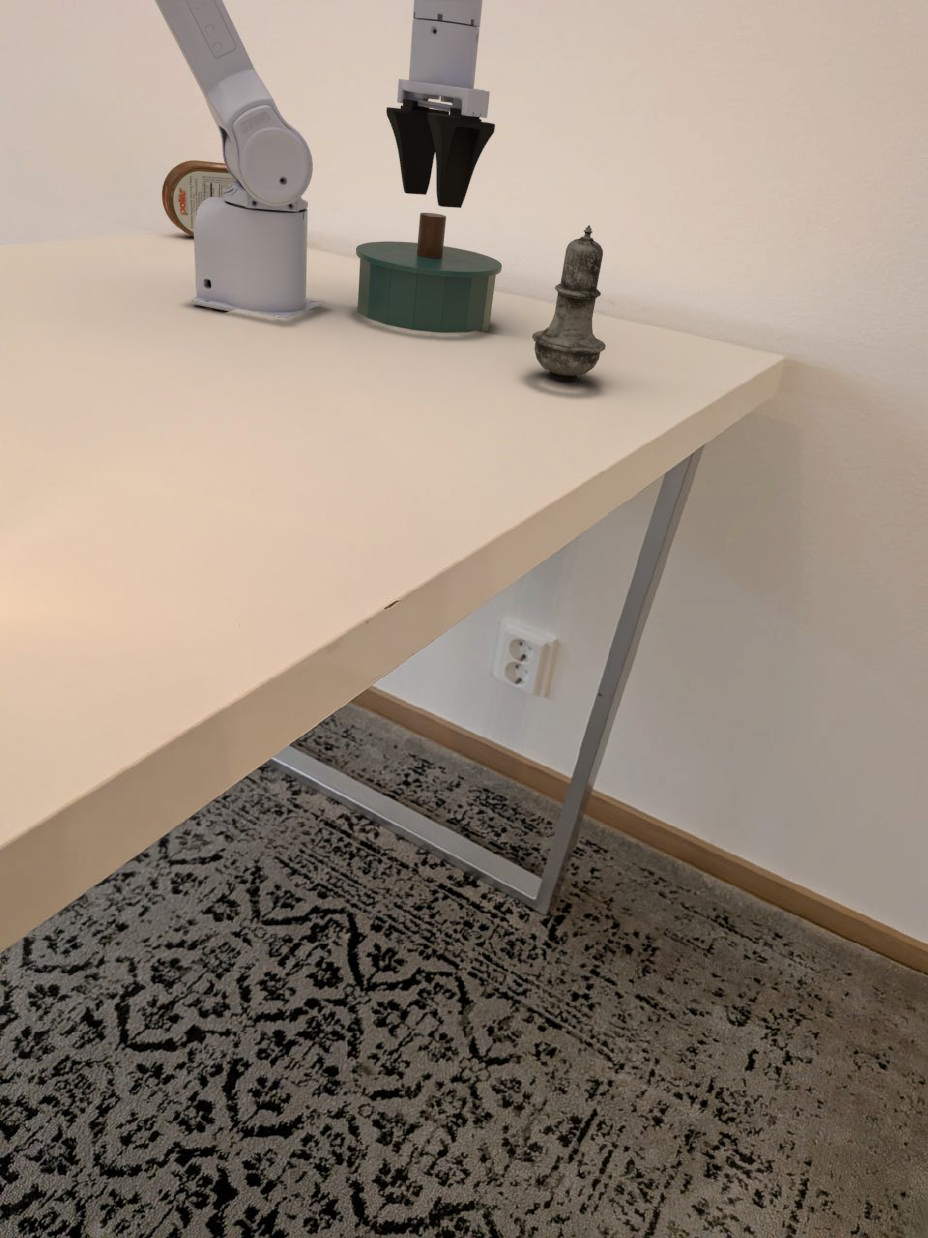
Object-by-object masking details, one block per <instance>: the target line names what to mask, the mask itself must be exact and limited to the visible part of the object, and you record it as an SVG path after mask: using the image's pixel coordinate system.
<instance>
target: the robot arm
mask: <svg viewBox="0 0 928 1238" xmlns="http://www.w3.org/2000/svg"><path fill="white" fill-rule="evenodd" d="M154 2H155V3H156V5H157V8H158V9H159V11H160V13H161V16H162V18H163V19H164V21H165V24H166V25H167V27H168V29H169V30H170V33H171V34H172V36H173V39H174V40H175V43H176V44H177V47H178V49H179V50H180V53H181V54H182V56H183V58H184V60H185V62H186V64H187V65H188V67H189V69H190V71H191V74H192V75H193V77H194V79H195V82H196V83H197V85H198V87H199V89H200V91H201V93H202V95H203V97H204V100H205V103H206V105H207V107H208V110H209V112H210V115H211V117H212V119H213V121H214V123H215V124H216V126H217V129H218V131H219V134H220V139H221V150H222V158H223V163H225V165H226V167H227V169H228V171H229V173H230V174H231V176H232V177H233V178H234V179H235V181H234V182H231V184H230V186H229V187H228V188H227V190H224V192H223V197H224V198H221V197H209V198H207V199H206V200H204V201H203V202H202V203H201V205H200V206H199V208H198V211H197V214H196V218H195V224H194V236H193V247H194V269H195V271H194V272H195V274H194V275H195V293H196V294H195V295H196V296H195V297H193V298H191V304H192V305H196V306H201V307H205V308H209V309H215V310H220V311H225V312H231V311H235V310H240V311H245V312H250V313H255V314H258V315H259V314H260V315H265V316H269V317H276V318H279V319H288V318H291V317H293V316H296V315H298V314H301V313H304V312H306V311H308V310H311V309H314V308H317V307H319V306H322V305H323V302H321V301H316V300H311V299H307V267H308V266H307V264H308V261H307V260H308V255H307V254H308V222H309V221H308V217H309V215H308V214H309V209H308V207H309V202H308V201H307V200H305V199H303V198H302V196H303V195H304V194H305V192H306V191H307V190H308V188H309V186H310V184H311V181H312V177H313V172H314V170H313V169H314V164H313V163H314V162H313V156H312V153H311V149H310V146H309V144H308V142H307V141H306V140H305V138H304V137H303V135H302V134H301V133H300V132H299V131H298V130H297V129H296V128H294V126H292V125H291V124H290V123H288V121H287V120H286V119H285V118H284V116H283V115H282V114H281V112H280V111H279V109H278V106H277V105H276V102H275V100H274V98H273V96H272V94H271V93H270V91H269V90H268V88H267V86H266V85H265V83H264V81H263V80H262V78H261V77H260V75H259V73H258V72H257V70H256V68H255V67H254V64H253V62H252V60H251V58H250V56H249V54H248V52H247V49H246V48H245V46H244V44H243V41H242V39H241V37H240V35H239V32H238V30H237V29H236V26H235V25H234V23H233V20H232V19H231V16H230V14H229V11H228V9H227V7H226V5H225V3H224V1H223V0H154ZM482 9H483V0H413V9H412V24H411V39H410V42H411V43H410V55H409V56H410V57H409V71H408V79H404V78H399V79H398V82H397V84H398V85H397V99H396V101H397V104H402V105H400V108H399V107H390V106H389V107H388V106H387V107H386V109H385V110H386V117H387V119H388V121H389V124H390V126H391V130H392V132H393V136H394V139H395V143H396V147H397V153H398V159H399V166H400V174H401V181H402V187H403V188H402V189H403V193H405V194H407V195H421V196H422V195H423V196H426V195H427V193H428V191H429V187H430V185H431V178H432V173H433V172H432V171H433V165H434V160H435V165H436V166H435V167H436V169H435V170H436V171H435V172H436V175H435V176H436V177H435V181H436V182H435V183H436V184H435V185H436V187H435V189H436V190H435V191H436V201H437V206H438V207H441V208H455V209H456V208H457V209H462V207H463V204H464V201H465V199H466V195H467V192H468V189H469V185H470V183H471V180H472V176H473V174H474V171H475V168H476V166H477V163H478V161H479V160H480V156H481V154H482V153H483V151H484V149H485V147H486V145H487V144H488V142H489V141H490V139H491V137H492V136H493V135H494V134H495V131H496V124H495V123H492V122H487V121H482V119H487V118H488V114H489V113H488V112H489V103H490V93H491V92H490V91H489V90H485V89H481V88H480V89H479V88H475V79H476V68H477V61H478V60H477V59H478V50H479V49H478V48H479V40H480V30H481V29H480V28H481V20H482ZM431 100H435V101H431ZM436 100H437V101H440V102H437V101H436ZM448 103H450V104H448Z"/></svg>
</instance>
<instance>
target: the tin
mask: <svg viewBox="0 0 928 1238" xmlns="http://www.w3.org/2000/svg"><path fill="white" fill-rule="evenodd" d="M234 181H235V179H234V178H233V177H232V176H231V174H230V173H229V171H228V169H227V167H226V165H225V162H217V161H216V162H215V161H207V160H195V159H194V160H186V161H183V162H180V163H178V164H177V165H176V166H174V167H173V168H171V170H170V171H169V172H168V173H167V175H166V177H165V178H164V181H163V184H162V189H161V200H162V206H163V209H164V212H165V214H166V216H167V218H169V220H170V221H171V223H172V224H173V225H174V226H176V228H178V229H179V230H181V231H182V232H183V233H185V234H187V235H189V236H191V237H194V224H195V218H196V214H197V211H198V208H199V206H200V205H201V203H202V202H203V201H204V200H206V199H207V198H209V197H221V198H224V197H223V192H224V190H227V188H228V187H229V186H230V184H231V182H234Z"/></svg>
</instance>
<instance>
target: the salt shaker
mask: <svg viewBox="0 0 928 1238" xmlns="http://www.w3.org/2000/svg"><path fill="white" fill-rule="evenodd" d="M592 230H593V229H592V227H591V225H587V226H586V227H585V229H583V232H584V235H582V236H581V237H579V238H576V239H573V240H572V241H570V242H569V243H568V244H567V247H566V248H565V254H564V258H563V259H564V260H563V266H562V271H561V279H560V283H557V284H556V285H554V290H555V291H556V292H557V296H556V302H555V310H554V314H553V317H552V319H551V321H550V324H549V326H548V327H546V328H545V329H542V330H538V331H535V332H534V333H533V334H532V335H531V338H532V340H533V342H534V348H533V349H534V354H535V357H536V360H537V362H538V363H539V365H540V366H541V367H542V368H543V369H544V370H547V371H548V378H549V379H551V380H553V381H556V382H560V383H575V382H576V381H577V380H578V376H583V375H586V374H587V373H588V372H590V371H591V370H593V369H594V368H595V366H597V363H598V362H599V360H600V356H601V353H602V352H603V351H605V350H606V347H607V346H606V344H605V342H604V341H603V340H601V339H599V338H596V336H595V334H594V332H593V331H594V330H593V317H594V316H593V315H594V311H595V306H596V299H597V298H599V297H601V295H602V294H601V291H600V290H598V284H599V278H600V273H601V268H602V263H603V258H604V250H603V247H602V246H601V244H600V243H599V242H597V241H595V239H594V238H593V237H591V236H592V235H591V234H592V233H593V231H592Z"/></svg>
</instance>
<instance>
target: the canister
mask: <svg viewBox="0 0 928 1238" xmlns="http://www.w3.org/2000/svg"><path fill="white" fill-rule="evenodd" d="M496 277H497V274H496V275H493V276H488V277H475V278H460V277H442V276H432V275H423V274H416V273H410V272H404V271H399V270H394V269H389V268H385V267H381V266H378V265H375V264H372V263H369V262H366V261H364V260H362V259H360V258H359V275H358V294H357V296H358V297H357V312H358V313H359V314H360V315H362V316H364V317H365V318H366V319H369V320H371V321H375V322H377V323H380V324H383V325H387V326H390V327H391V326H392V327H397V328H402V329H407V330H411V331H420V332H429V333H430V332H431V333H441V334H445V333H446V334H447V333H448V334H449V333H469V332H480V333H487V331H488V330H489V327H490V324H491V316H492V309H493V300H494V293H495V292H494V291H495V284H496Z"/></svg>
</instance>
